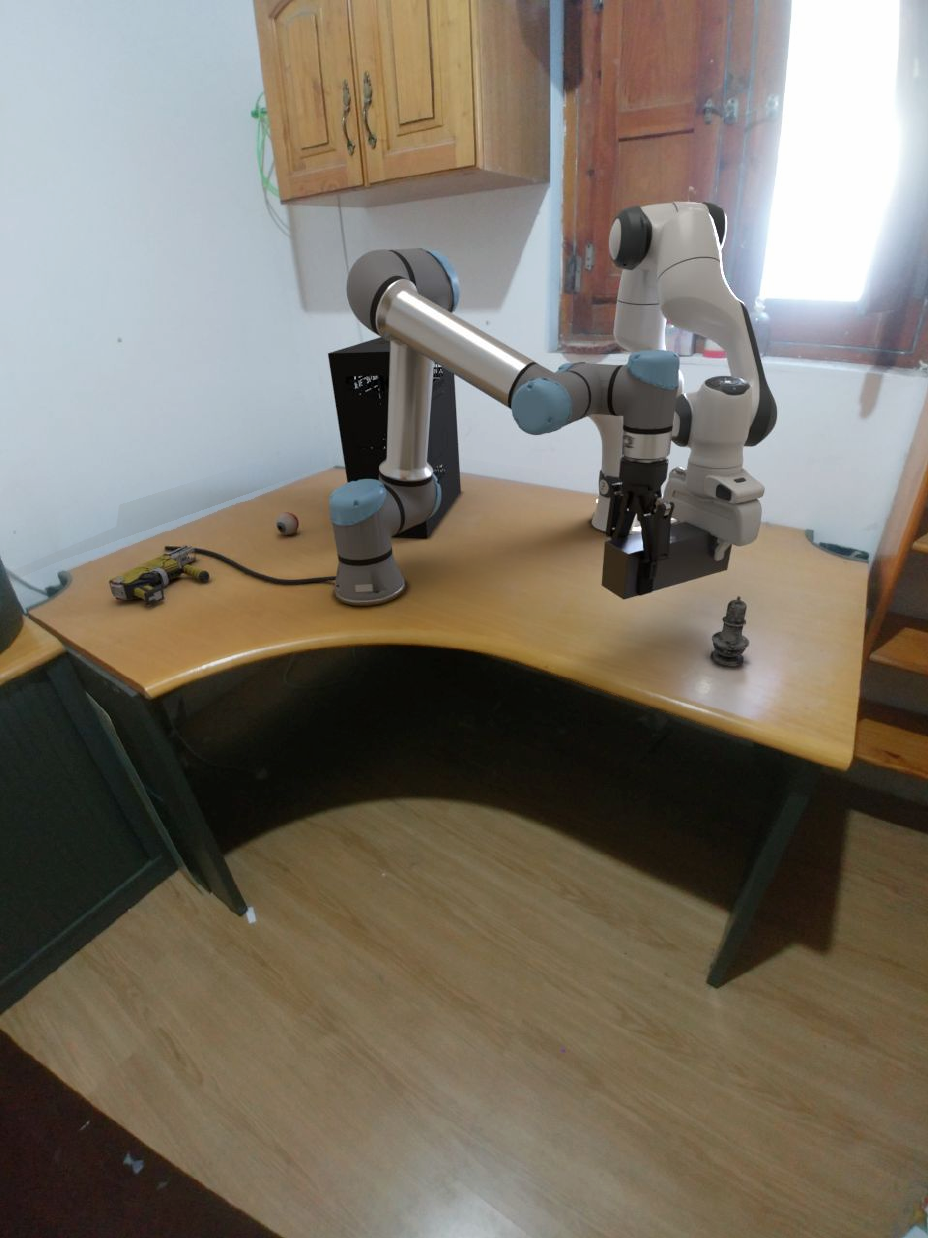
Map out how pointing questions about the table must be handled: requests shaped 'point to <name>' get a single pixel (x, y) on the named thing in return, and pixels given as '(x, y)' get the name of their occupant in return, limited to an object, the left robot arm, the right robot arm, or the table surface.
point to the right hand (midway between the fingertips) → (700, 551)
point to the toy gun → (155, 576)
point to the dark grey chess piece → (731, 636)
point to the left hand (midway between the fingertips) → (631, 584)
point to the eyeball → (287, 523)
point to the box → (682, 565)
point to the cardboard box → (369, 421)
